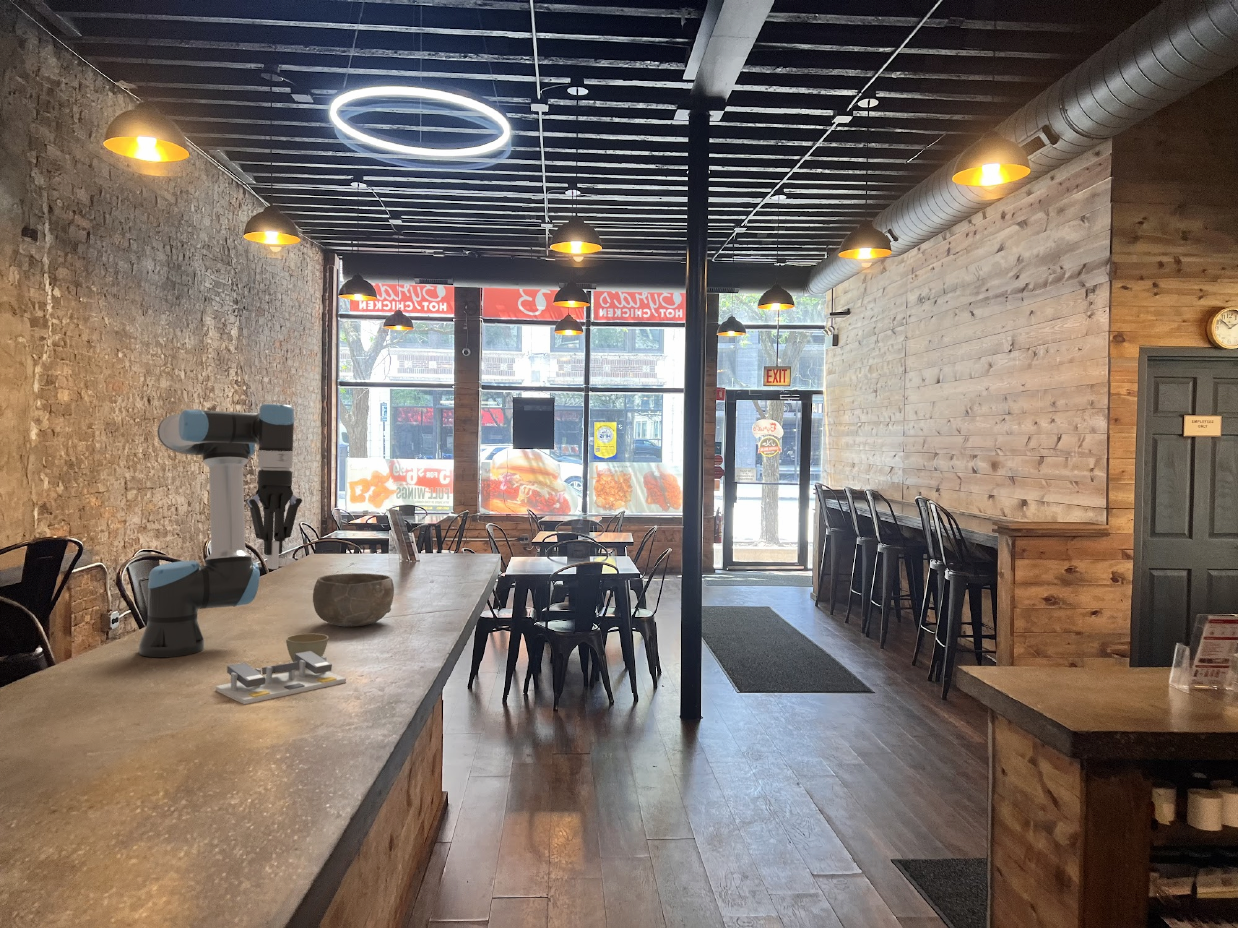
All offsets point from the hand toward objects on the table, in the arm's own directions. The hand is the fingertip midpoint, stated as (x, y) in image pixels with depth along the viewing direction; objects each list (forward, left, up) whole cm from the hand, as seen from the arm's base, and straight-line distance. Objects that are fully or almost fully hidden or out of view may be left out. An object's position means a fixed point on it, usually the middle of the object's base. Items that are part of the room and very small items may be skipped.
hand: (272, 568), depth 191 cm
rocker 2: (+7, -1, -22) cm, 23 cm away
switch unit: (+8, -1, -26) cm, 28 cm away
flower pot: (-5, +12, -27) cm, 30 cm away
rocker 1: (+7, -9, -22) cm, 25 cm away
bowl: (-39, +46, -27) cm, 66 cm away
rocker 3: (+7, +7, -22) cm, 24 cm away
